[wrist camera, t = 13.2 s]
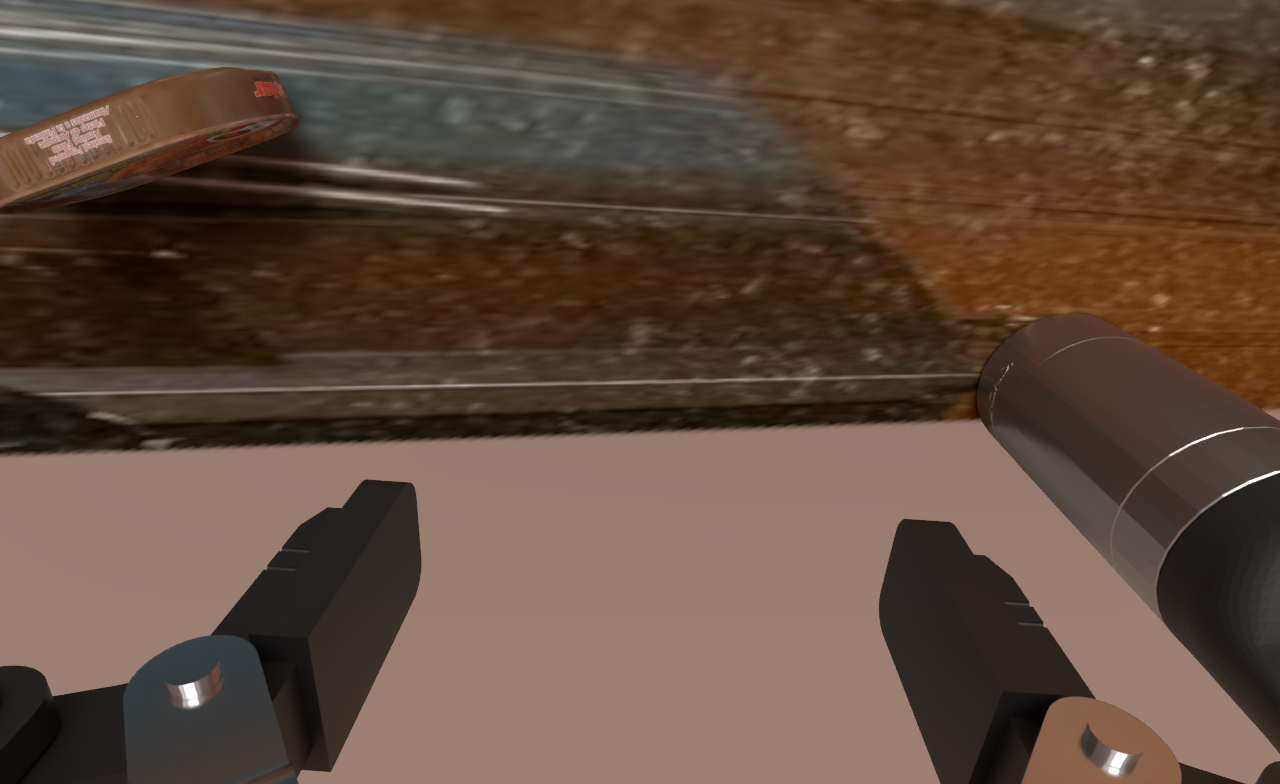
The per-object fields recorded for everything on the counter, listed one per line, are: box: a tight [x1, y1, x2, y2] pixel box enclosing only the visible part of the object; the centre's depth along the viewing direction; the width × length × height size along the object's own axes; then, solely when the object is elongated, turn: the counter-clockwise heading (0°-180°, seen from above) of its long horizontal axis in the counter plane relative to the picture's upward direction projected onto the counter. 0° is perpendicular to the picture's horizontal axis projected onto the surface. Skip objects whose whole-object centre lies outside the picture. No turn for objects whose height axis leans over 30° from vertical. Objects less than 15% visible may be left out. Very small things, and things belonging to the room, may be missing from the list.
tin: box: [0, 67, 300, 214], centre depth 34 cm, size 15×3×8 cm, turn 107°
